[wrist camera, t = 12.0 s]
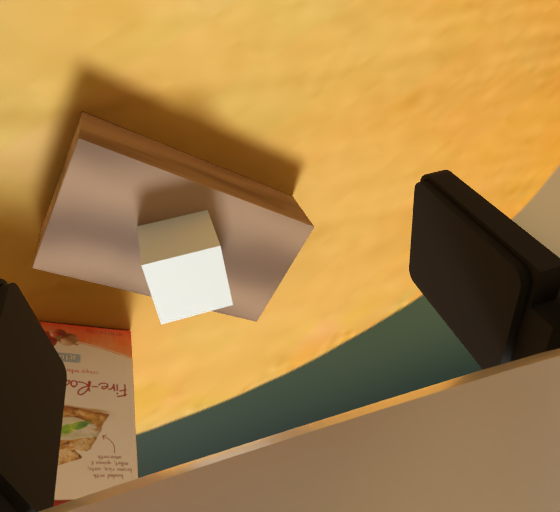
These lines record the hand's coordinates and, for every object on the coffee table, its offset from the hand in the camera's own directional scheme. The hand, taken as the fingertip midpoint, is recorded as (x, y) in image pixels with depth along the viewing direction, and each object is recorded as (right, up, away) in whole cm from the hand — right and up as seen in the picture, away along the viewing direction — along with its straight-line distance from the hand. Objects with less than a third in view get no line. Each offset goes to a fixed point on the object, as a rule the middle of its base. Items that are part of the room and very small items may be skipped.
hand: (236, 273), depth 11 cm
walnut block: (-8, +4, +29) cm, 30 cm away
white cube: (-6, +1, +24) cm, 25 cm away
